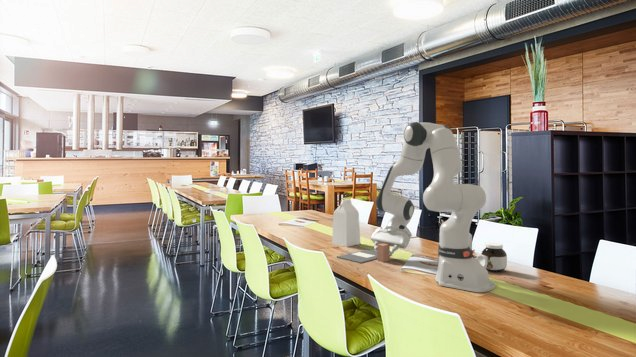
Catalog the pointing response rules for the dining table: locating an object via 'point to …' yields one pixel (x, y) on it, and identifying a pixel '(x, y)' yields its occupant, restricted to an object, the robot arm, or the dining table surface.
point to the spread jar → (493, 257)
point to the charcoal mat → (360, 256)
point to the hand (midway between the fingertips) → (382, 251)
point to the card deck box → (383, 252)
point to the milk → (346, 225)
